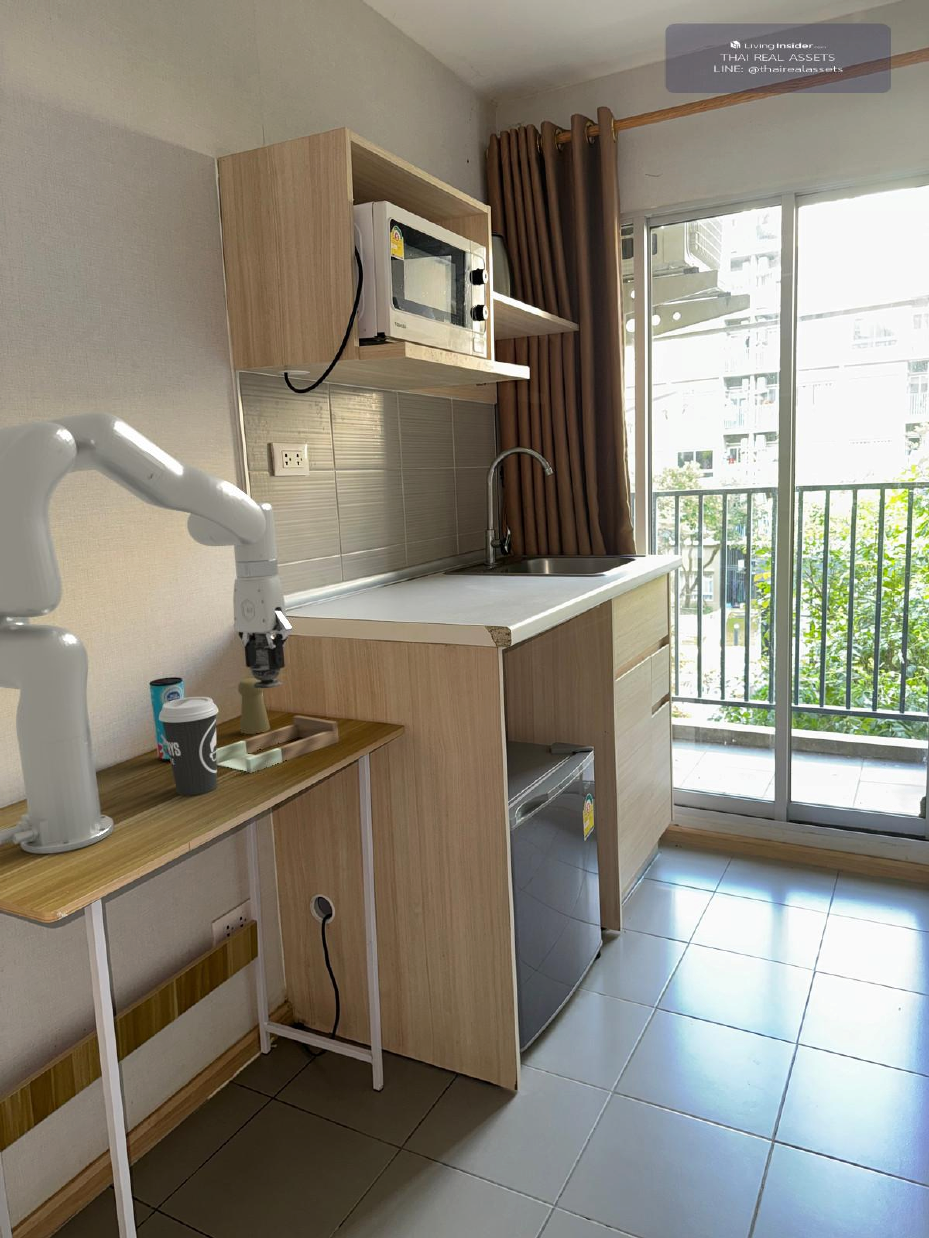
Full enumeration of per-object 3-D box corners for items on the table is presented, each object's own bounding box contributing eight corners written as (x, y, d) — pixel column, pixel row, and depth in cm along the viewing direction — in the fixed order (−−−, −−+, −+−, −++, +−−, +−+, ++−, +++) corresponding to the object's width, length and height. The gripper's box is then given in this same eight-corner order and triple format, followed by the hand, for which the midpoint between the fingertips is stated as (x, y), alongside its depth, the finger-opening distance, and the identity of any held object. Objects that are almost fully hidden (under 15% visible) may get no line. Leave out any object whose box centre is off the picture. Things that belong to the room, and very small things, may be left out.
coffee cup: (199, 776, 154) (190, 693, 152) (238, 783, 149) (229, 697, 147) (155, 794, 146) (144, 707, 144) (195, 802, 141) (184, 711, 139)
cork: (239, 728, 185) (234, 678, 183) (268, 725, 187) (264, 674, 185) (241, 736, 179) (236, 683, 178) (271, 732, 181) (266, 680, 179)
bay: (251, 773, 154) (249, 751, 154) (212, 763, 161) (209, 742, 161) (338, 741, 171) (337, 721, 170) (299, 734, 178) (297, 715, 177)
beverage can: (166, 764, 163) (156, 685, 161) (153, 758, 167) (144, 681, 165) (196, 756, 167) (187, 679, 164) (183, 750, 171) (174, 675, 169)
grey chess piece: (287, 681, 166) (282, 618, 164) (277, 688, 160) (272, 623, 159) (257, 682, 167) (251, 619, 165) (246, 689, 161) (240, 624, 159)
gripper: (211, 572, 163) (220, 667, 165) (271, 573, 152) (279, 674, 155) (244, 568, 169) (252, 660, 171) (304, 568, 158) (311, 667, 160)
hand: (265, 666), depth 163 cm, fingers closed on grey chess piece, 5 cm apart
